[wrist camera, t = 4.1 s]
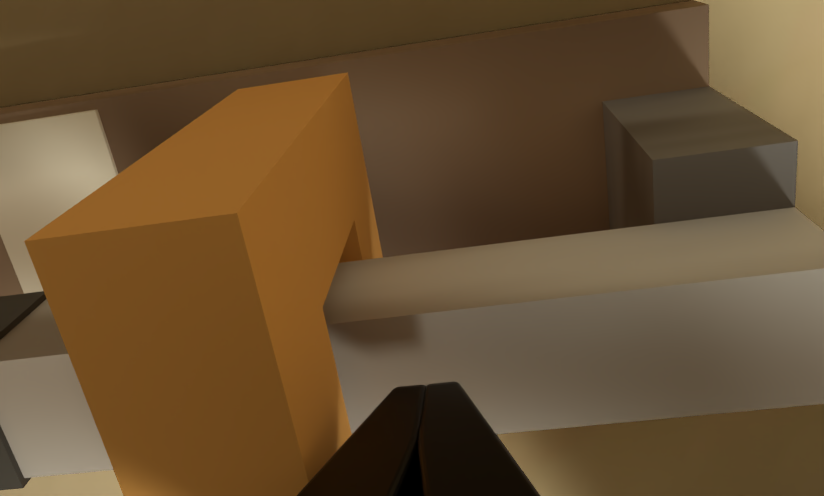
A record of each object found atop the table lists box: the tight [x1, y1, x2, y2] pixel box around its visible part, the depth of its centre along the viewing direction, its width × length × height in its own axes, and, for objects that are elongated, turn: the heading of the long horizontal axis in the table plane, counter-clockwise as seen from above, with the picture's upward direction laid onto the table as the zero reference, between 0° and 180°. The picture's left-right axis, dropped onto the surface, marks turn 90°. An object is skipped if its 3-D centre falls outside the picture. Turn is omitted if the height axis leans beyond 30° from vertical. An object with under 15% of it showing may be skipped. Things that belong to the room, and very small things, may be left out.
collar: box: [24, 72, 383, 496], centre depth 11 cm, size 7×2×7 cm, turn 9°
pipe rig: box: [0, 0, 824, 490], centre depth 14 cm, size 7×19×7 cm, turn 99°
